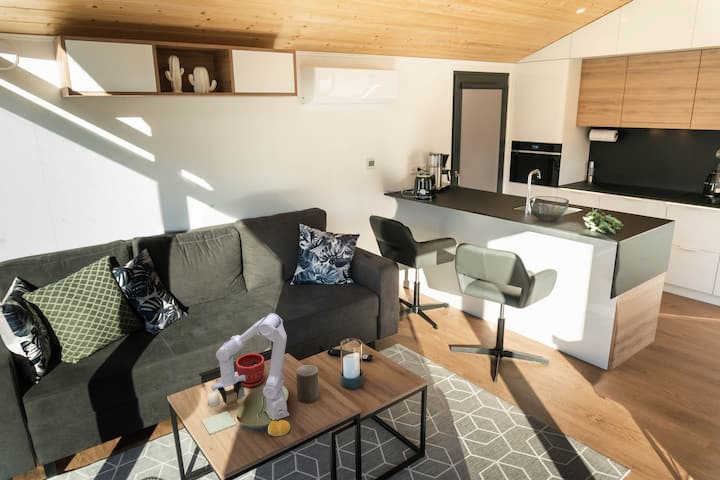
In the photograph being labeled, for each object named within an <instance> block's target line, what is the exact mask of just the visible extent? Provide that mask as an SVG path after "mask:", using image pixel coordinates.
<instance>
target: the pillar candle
mask: <svg viewBox="0 0 720 480" xmlns="http://www.w3.org/2000/svg"><path fill="white" fill-rule="evenodd" d="M295 373H296V375H295V376H296V396H297V397H296V398H297V401H298V402H300V403H303V404H312V403H314V402H316V401H318V400H319V398H320V397H319V368H318V367H317V366H316V365H312V364H306V365H305V364H304V365H301V366H299V367H297V368H296V371H295Z"/></svg>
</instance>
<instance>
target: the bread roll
mask: <svg viewBox="0 0 720 480" xmlns="http://www.w3.org/2000/svg"><path fill="white" fill-rule="evenodd" d="M290 430H291V425H290V422H289V421H287V420H285V419H278V420H276V421H271V422H269V424H268V427H267V434H268V435H269V436H271V437H279V436H280V437H281V436H286V435H287V434H288V433H289V431H290Z"/></svg>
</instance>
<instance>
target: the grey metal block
mask: <svg viewBox="0 0 720 480" xmlns="http://www.w3.org/2000/svg"><path fill="white" fill-rule="evenodd" d="M232 389H234V387H233V388H232ZM245 391H246V390H245V387H244V386H241V388H240V390H239V394H238V399H237V400H240V399H242V398H244V397H245V396H246V392H245Z"/></svg>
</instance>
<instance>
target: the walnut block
mask: <svg viewBox="0 0 720 480" xmlns="http://www.w3.org/2000/svg"><path fill="white" fill-rule="evenodd" d="M225 391H226V403H224V404H225V405H226V408H228V407H232V406H235V405H238V403H239V402H238V401H239V400H238V399H237V393H236V392H235V391H234V389H233V388H231V389H229V390H225Z"/></svg>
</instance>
